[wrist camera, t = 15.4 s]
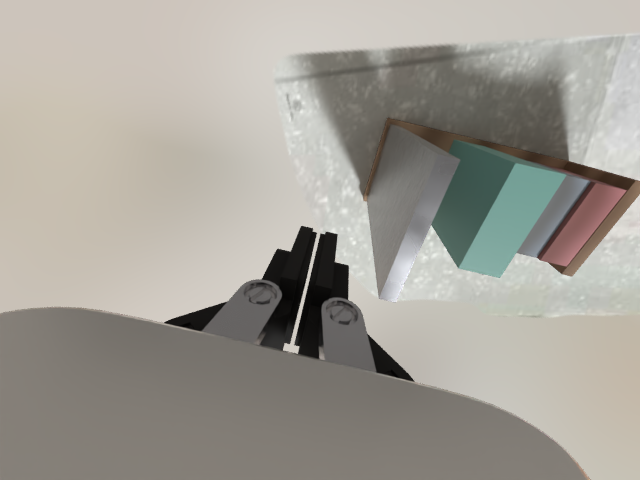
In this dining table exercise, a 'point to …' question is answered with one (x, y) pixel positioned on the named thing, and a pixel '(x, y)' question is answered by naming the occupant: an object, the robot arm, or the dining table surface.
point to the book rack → (554, 201)
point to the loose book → (491, 206)
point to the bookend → (404, 204)
